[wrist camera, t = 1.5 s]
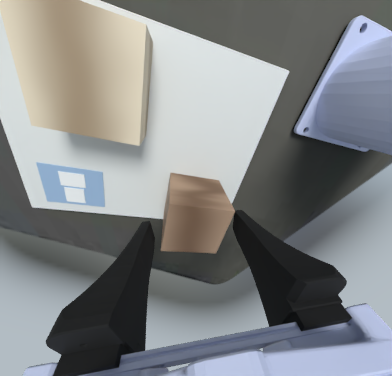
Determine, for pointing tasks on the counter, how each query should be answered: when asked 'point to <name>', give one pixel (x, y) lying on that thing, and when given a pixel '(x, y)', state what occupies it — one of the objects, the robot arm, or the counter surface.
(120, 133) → the maple base block
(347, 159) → the counter surface
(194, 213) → the walnut block
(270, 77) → the plate
